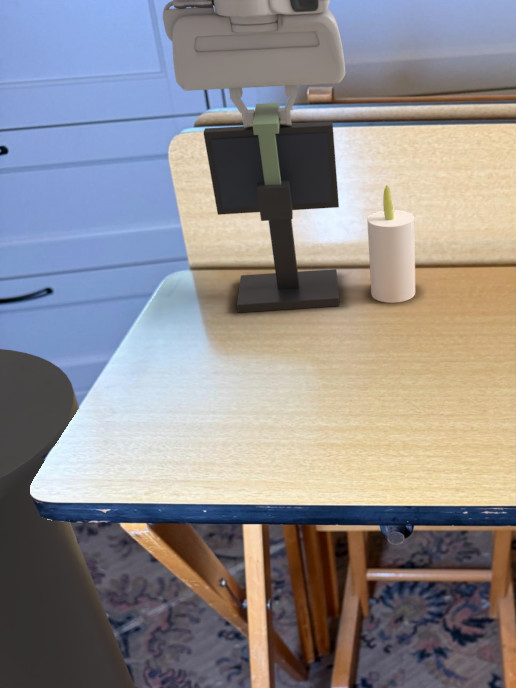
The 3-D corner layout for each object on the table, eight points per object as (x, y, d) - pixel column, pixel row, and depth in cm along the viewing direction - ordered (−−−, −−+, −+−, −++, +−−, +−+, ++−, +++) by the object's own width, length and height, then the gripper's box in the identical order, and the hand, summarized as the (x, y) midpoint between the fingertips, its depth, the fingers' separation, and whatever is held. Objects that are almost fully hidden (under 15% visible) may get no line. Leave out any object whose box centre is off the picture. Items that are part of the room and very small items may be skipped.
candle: (421, 285, 115) (420, 176, 105) (407, 304, 110) (405, 192, 100) (380, 281, 116) (375, 173, 106) (364, 299, 112) (358, 188, 102)
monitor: (230, 313, 110) (200, 141, 95) (235, 283, 117) (207, 119, 103) (346, 305, 110) (333, 134, 96) (343, 276, 118) (331, 113, 103)
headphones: (261, 221, 101) (247, 126, 94) (264, 190, 110) (252, 101, 103) (292, 219, 101) (281, 124, 94) (293, 188, 110) (283, 100, 103)
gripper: (155, 1, 87) (181, 137, 96) (341, -7, 88) (349, 128, 97) (162, -7, 92) (186, 123, 101) (339, -15, 93) (347, 115, 102)
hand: (268, 126), depth 99 cm, fingers closed on headphones, 3 cm apart
